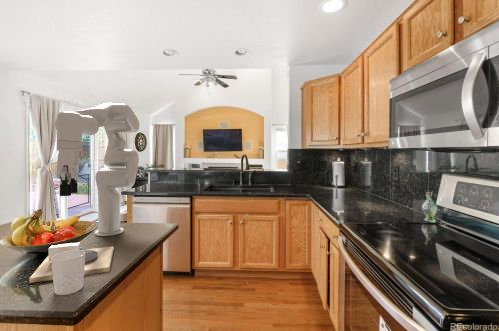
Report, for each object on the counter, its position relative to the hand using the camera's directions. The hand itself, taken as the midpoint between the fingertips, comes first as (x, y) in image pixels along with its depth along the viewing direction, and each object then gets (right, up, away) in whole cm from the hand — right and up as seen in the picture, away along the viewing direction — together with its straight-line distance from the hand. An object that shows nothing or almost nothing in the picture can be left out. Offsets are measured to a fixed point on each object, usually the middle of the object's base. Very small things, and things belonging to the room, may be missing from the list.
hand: (69, 194), depth 95 cm
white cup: (+13, -25, -20) cm, 35 cm away
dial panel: (+5, -24, -3) cm, 25 cm away
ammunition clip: (-16, -24, +9) cm, 30 cm away
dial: (+4, -22, -3) cm, 23 cm away
